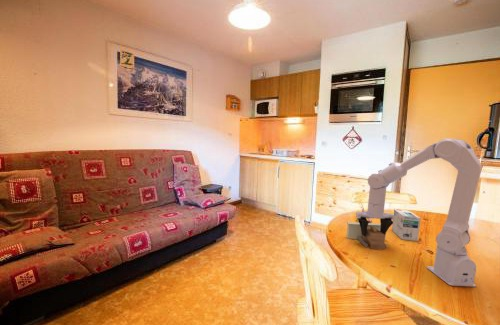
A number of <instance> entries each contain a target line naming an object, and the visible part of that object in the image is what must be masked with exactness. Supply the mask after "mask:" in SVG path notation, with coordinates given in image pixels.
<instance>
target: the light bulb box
mask: <svg viewBox="0 0 500 325" xmlns="http://www.w3.org/2000/svg"><path fill="white" fill-rule="evenodd" d="M393 215H395V216H394V220H392V221H393V224H392V225H391V231H392V232H394V234H395V235H396V236H398V238H400V240H403V241H405V240H406V241H414V242H419V233H420V227H421V226H420V225H421V221H422V220H421V219H422V218H421V217H420V216H418V215H416V214H415V213H413V212H412V211H410V210H408V209H400V208H394V210H393Z"/></svg>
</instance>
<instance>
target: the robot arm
mask: <svg viewBox="0 0 500 325" xmlns="http://www.w3.org/2000/svg"><path fill="white" fill-rule="evenodd" d="M432 159H433V160H434V159H442V160H443V161H446V162H448V163H449V164H451V166H452V167H453V168H455V169H456V171H457V175H456V180H455V184H454V188H453V190H452V191H453V192H452V197H451V200H450V205H449V209H448V212H447V218H446V220H445V222H444V224H443V226H442V229H441V231H440V232H439V233H437V235H436V236H435V241H436V249H435V250H436V251H435V255H434V256H435V257H434V264H433V266H430V265H429V266H428V265H427V266H426V269H427V270H429V271H430V272H432V273H433V274H434V275H435V276H437V277H438V278H439V279H441V280H442V281H444V282H445V283H447V285H449V286H453V287H473V288H475V287H477V284H475V283H474V282H475V277H476V273H477V265H476V263H475V261H473V259H471V258H470V257H469V256H468V255H469V254H468V249H467V248H466V245H468V244H469V243H470V241H471V235H470V233H469V229H470V224H469V221H470V217H471V212H472V209H473V204H474V201H475V198H476V193H477V189H478V185H479V182H480V178H481V174H482V170H483V166H482V163H481V162H480V160H479V158H478V156H477V154H476V152H475V151H474V147H473V146H471V145H470V144H468V143H467V142H466V141H464V140H462V139H459V138H458V139H457V138H456V139H454V138H443V139H440V140H439V141H438V142H435V143H432V144H430V145H428V146H426V147H424V148H423V149H422V150H420V151H419V152H417V153H415V154H414V155H412V156H410V157H409V158H407V159H406V160H404V161H402V162H397V161H396V162H390V163H389V164H388V166H387V167H385V168H383V169H379V170H377V171H378V172H377V173H371V175H370V176H368V178H367V184H368V186H369V190H368V192H369V193H368V201H367V202H368V203H367V211H365V212H362V211H358V212H355V217H356V220H357V219H358V220H357V221H358V223H360V227H361V232H362V235H363V236H366V231H367V226H368V223H370V221H369V220H368V219H367V218H370V219H376V220H377V219H378V220H379V222H380V223H379V224H381V227H380V232H382V233H383V234H384V235H385V234H386V235H387V232H388V231H389V228H390V227H392V225H393V220H394V216H395V215H394V213H391V212H390V213H388V212H385V202H386V193H387V187H388V186H389V185H390V184H392V183H394V182H395V181H398V180H400V179H402V178H404V177H406V175H407V173H408V171H409V170H411V169H413V168H415V167H417V166H419V165H421V164H423V163H425V162H427V161H430V160H432Z"/></svg>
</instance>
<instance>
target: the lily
mask: <svg viewBox="0 0 500 325" xmlns="http://www.w3.org/2000/svg"><path fill="white" fill-rule="evenodd" d="M360 205H361V206H360V208H361V212H366V211H365V208H364V205H363V204H362V203H361V201H360ZM366 219H367V221H369V223H372V218H366ZM357 221H358V219H357V218H356V220H355V222H357Z"/></svg>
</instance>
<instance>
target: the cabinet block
mask: <svg viewBox="0 0 500 325" xmlns="http://www.w3.org/2000/svg"><path fill="white" fill-rule="evenodd" d="M361 238H362V239H363V240H364V241H365V242H366V243H367V244H368V247H367V248H369V249H371V250H385V248H384V244H385V240H386V236H385V235H384V234H383V233H382V232H380V231H379V230H378V229H376V228H375V227H367V231H366V236H363V235H361Z"/></svg>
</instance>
